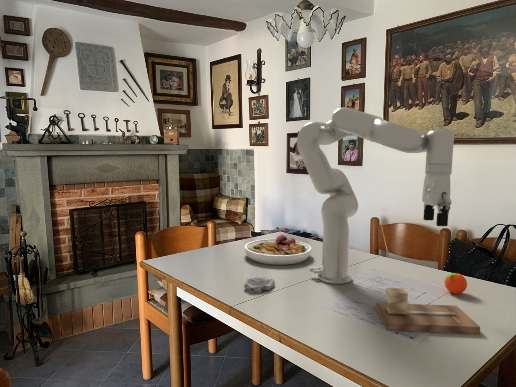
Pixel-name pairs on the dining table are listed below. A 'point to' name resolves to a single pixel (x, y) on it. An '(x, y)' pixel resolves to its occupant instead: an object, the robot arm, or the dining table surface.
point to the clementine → (455, 283)
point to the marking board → (429, 319)
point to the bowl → (278, 251)
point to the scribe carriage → (396, 301)
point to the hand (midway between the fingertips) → (434, 222)
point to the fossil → (258, 284)
